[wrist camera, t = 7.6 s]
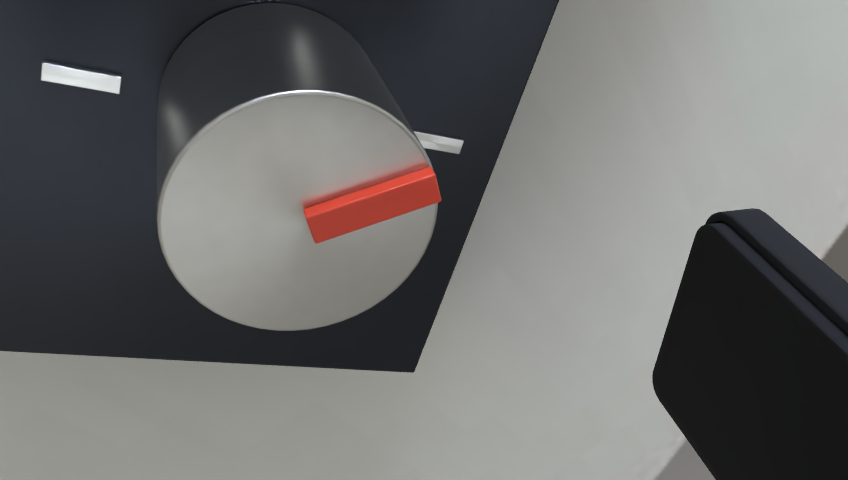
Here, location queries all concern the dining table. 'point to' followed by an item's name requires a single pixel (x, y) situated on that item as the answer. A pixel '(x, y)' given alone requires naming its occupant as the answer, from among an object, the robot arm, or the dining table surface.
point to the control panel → (137, 172)
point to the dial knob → (286, 172)
